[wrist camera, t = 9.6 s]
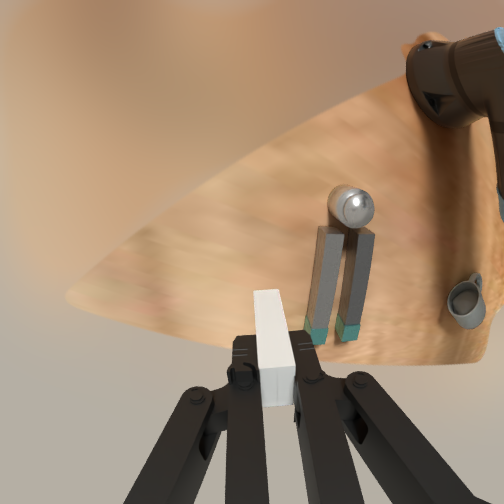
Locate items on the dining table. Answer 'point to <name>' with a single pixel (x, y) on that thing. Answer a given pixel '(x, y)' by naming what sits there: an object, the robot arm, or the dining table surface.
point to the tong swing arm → (331, 266)
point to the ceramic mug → (467, 302)
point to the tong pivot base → (352, 266)
